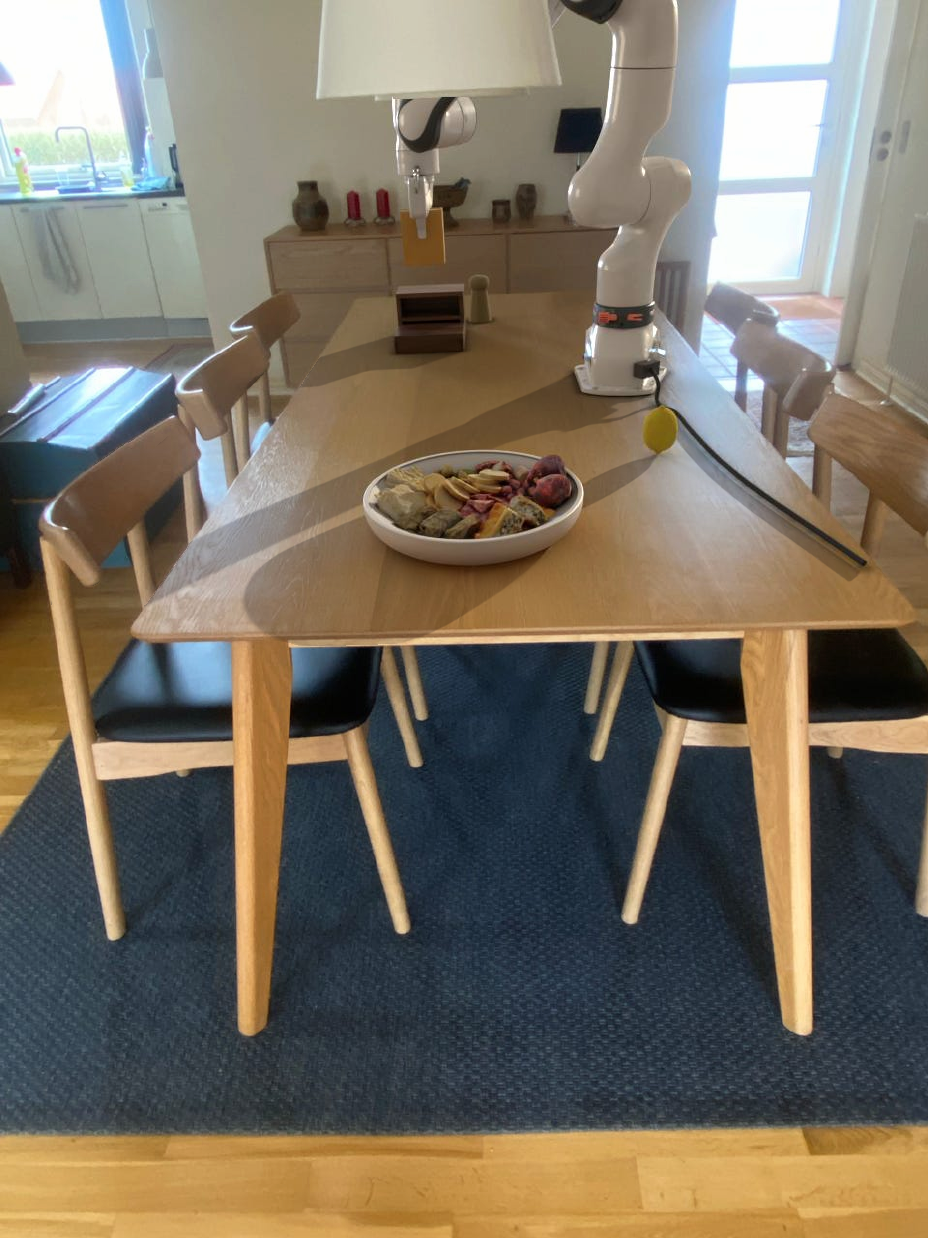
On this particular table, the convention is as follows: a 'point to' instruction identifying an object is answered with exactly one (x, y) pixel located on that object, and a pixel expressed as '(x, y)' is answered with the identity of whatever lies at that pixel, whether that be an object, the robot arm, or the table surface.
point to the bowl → (474, 506)
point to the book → (427, 248)
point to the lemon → (660, 429)
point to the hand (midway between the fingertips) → (423, 236)
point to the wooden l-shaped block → (430, 318)
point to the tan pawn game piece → (479, 299)
